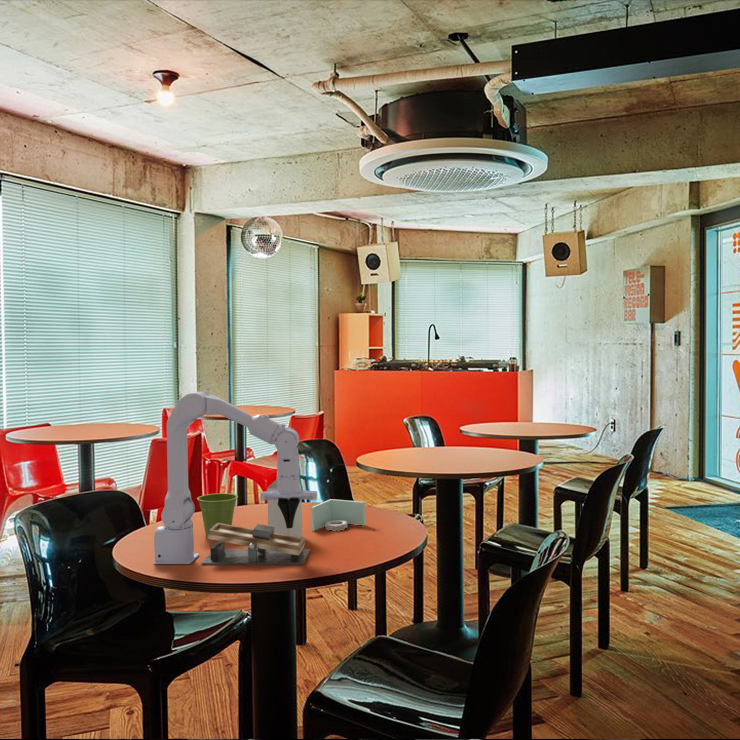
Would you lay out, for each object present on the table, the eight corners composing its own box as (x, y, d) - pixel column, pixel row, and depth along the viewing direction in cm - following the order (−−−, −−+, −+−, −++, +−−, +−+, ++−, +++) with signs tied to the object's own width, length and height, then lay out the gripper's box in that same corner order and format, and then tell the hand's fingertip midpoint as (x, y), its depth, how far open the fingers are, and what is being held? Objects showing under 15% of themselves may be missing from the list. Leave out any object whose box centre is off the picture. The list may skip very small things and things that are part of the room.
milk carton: (268, 540, 194) (266, 474, 194) (281, 534, 201) (280, 470, 200) (289, 543, 191) (287, 475, 191) (302, 537, 198) (301, 471, 197)
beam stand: (200, 565, 173) (200, 544, 173) (215, 550, 185) (214, 531, 185) (302, 565, 171) (302, 543, 171) (310, 550, 184) (310, 530, 183)
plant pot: (231, 540, 196) (230, 501, 195) (191, 540, 197) (190, 501, 197) (244, 529, 207) (243, 492, 207) (206, 529, 209) (205, 492, 209)
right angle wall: (311, 532, 204) (310, 507, 204) (331, 522, 215) (330, 499, 214) (347, 536, 199) (346, 510, 198) (365, 526, 209) (364, 501, 209)
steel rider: (251, 540, 176) (253, 528, 176) (256, 535, 181) (258, 524, 180) (268, 543, 175) (270, 531, 175) (272, 538, 180) (274, 527, 180)
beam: (207, 538, 175) (208, 530, 175) (216, 530, 183) (217, 522, 183) (299, 555, 173) (300, 547, 173) (304, 546, 181) (305, 538, 181)
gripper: (257, 478, 174) (258, 531, 174) (313, 477, 173) (315, 531, 173) (263, 473, 181) (264, 524, 181) (317, 472, 180) (319, 524, 180)
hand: (289, 527), depth 177 cm, fingers closed
